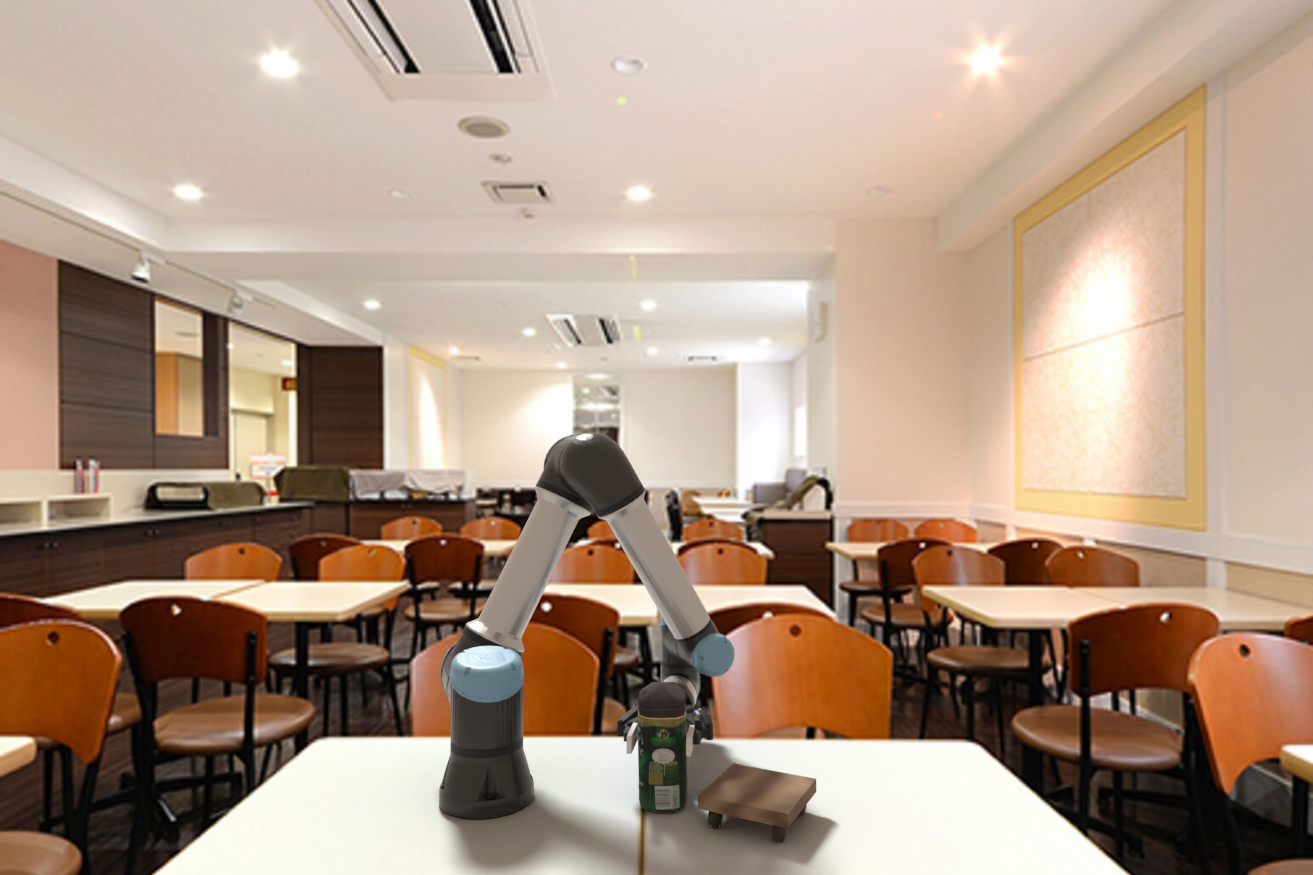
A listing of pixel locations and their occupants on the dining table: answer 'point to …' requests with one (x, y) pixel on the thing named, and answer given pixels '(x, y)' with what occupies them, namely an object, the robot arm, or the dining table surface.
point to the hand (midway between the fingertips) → (658, 746)
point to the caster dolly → (757, 797)
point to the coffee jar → (662, 747)
